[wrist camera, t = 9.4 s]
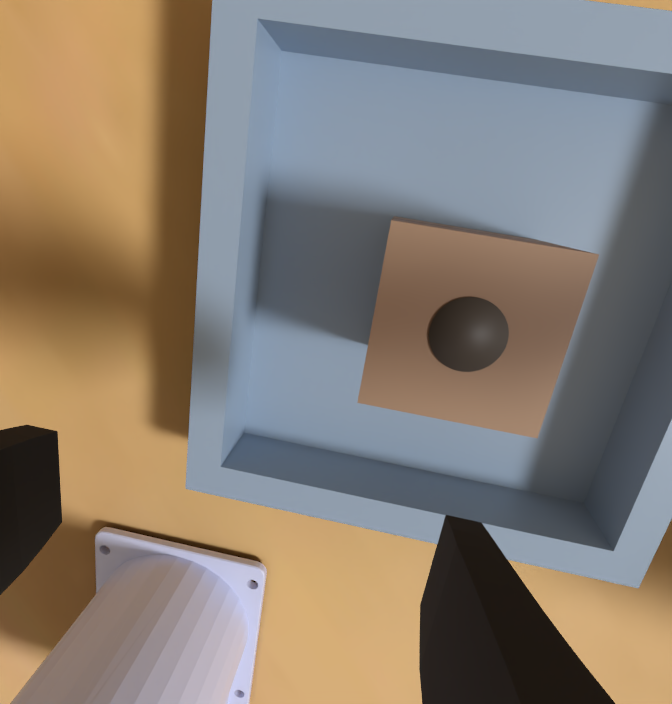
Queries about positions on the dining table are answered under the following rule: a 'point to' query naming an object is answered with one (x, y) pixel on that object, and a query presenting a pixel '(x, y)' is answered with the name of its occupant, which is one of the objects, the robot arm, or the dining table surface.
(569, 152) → the tray
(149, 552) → the robot arm
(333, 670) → the dining table surface
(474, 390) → the walnut block
